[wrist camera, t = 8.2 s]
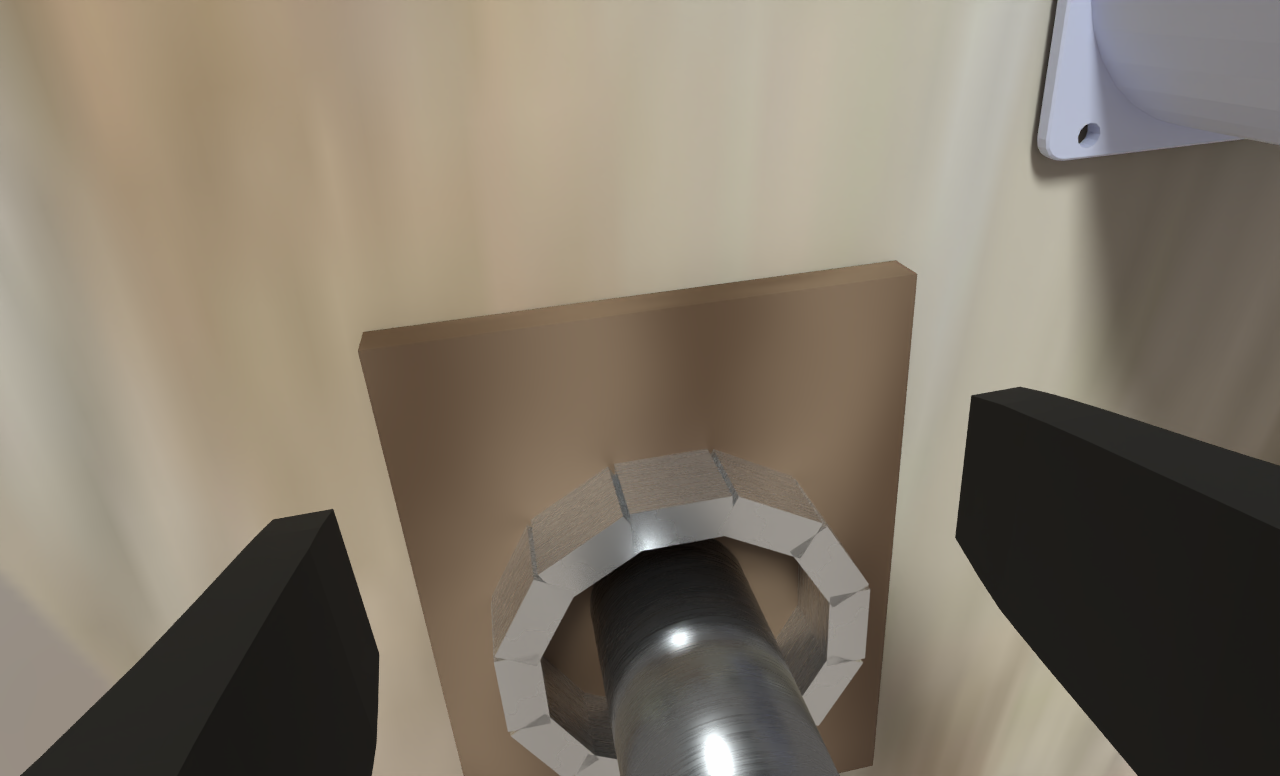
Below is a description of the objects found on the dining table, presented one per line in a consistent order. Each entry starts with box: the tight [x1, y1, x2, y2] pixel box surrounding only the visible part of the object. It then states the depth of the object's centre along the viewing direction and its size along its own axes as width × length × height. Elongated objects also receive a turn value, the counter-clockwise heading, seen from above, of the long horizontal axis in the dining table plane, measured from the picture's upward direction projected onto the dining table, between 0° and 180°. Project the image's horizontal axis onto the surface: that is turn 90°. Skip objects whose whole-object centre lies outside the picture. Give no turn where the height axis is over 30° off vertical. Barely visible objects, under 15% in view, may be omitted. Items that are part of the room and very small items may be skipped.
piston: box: [590, 538, 840, 776], centre depth 17 cm, size 4×4×7 cm
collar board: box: [358, 261, 917, 776], centre depth 20 cm, size 12×16×3 cm
